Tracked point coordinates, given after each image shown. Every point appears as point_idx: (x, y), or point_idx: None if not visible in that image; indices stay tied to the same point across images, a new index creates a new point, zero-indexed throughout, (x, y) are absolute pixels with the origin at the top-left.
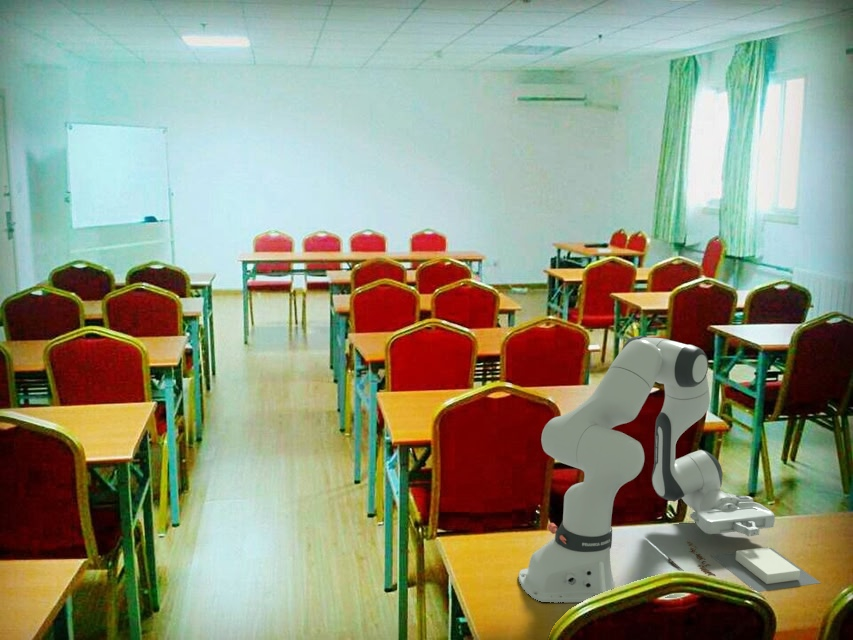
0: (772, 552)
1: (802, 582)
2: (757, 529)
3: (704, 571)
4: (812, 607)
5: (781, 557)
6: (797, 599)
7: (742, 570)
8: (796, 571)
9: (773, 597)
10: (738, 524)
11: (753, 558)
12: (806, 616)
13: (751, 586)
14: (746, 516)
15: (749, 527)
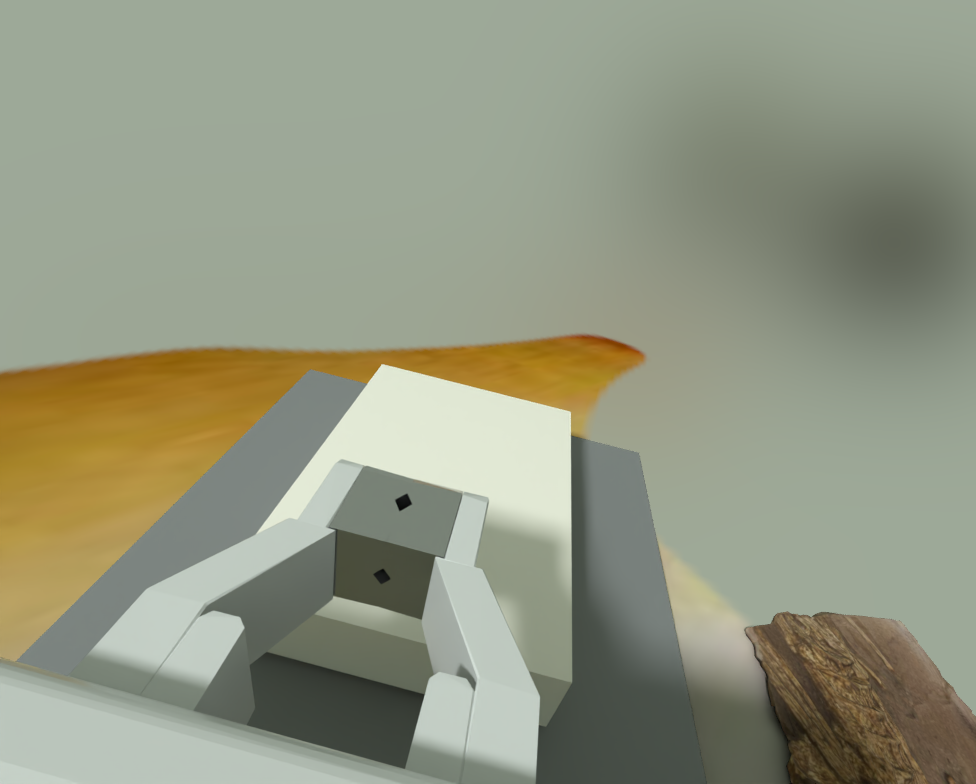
0: (297, 510)
1: None
2: (362, 466)
3: (873, 710)
4: (492, 354)
5: (321, 451)
6: (499, 384)
7: (584, 593)
8: (403, 372)
9: (577, 422)
10: (523, 678)
11: (519, 527)
12: (550, 350)
13: (634, 478)
14: (54, 781)
15: (419, 532)
